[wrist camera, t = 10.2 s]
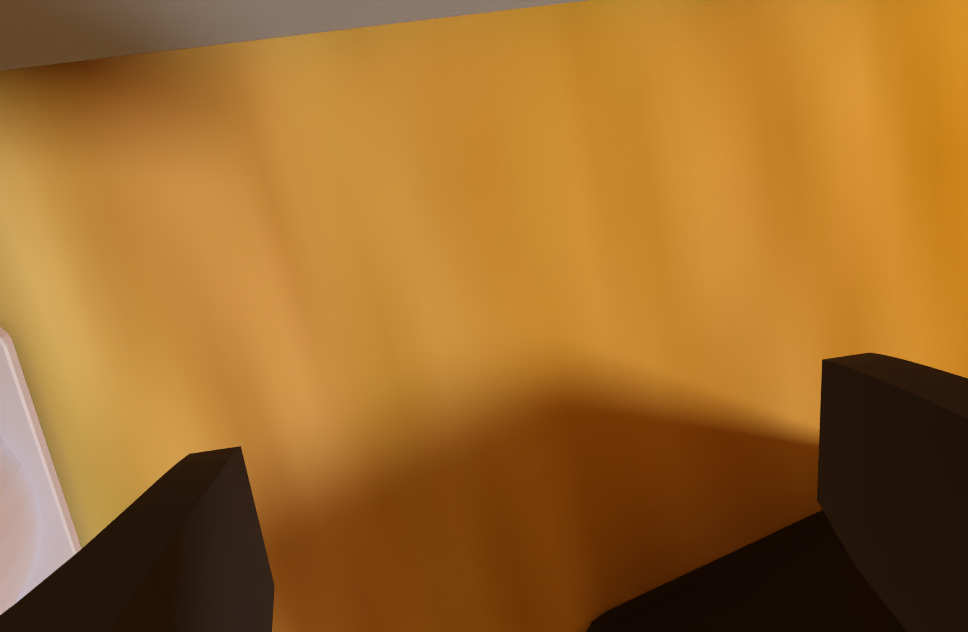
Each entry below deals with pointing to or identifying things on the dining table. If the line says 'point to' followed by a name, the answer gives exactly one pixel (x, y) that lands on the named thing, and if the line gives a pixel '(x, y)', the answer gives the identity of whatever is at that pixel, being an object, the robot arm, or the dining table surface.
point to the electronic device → (764, 591)
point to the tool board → (196, 23)
